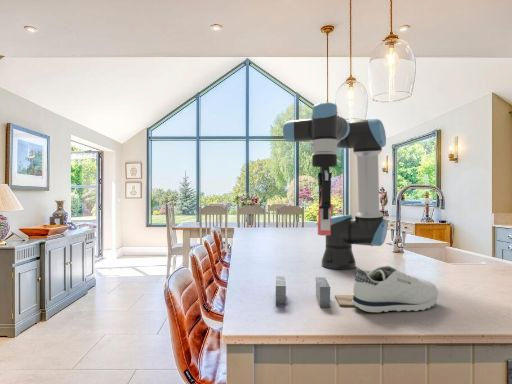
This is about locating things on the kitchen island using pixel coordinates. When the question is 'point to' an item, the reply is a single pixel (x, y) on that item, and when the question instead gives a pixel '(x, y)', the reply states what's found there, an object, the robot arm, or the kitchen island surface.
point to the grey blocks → (321, 291)
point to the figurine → (320, 232)
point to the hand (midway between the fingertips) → (324, 229)
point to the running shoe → (392, 291)
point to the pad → (345, 300)
